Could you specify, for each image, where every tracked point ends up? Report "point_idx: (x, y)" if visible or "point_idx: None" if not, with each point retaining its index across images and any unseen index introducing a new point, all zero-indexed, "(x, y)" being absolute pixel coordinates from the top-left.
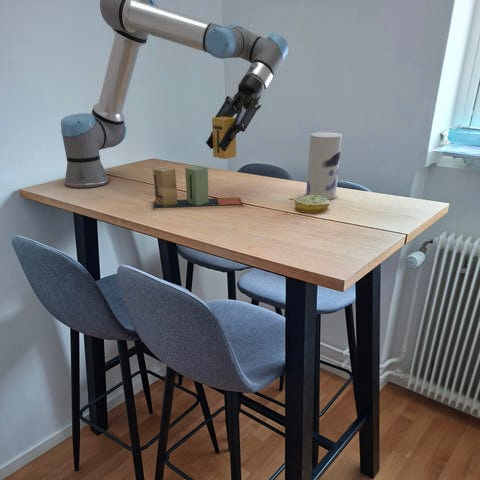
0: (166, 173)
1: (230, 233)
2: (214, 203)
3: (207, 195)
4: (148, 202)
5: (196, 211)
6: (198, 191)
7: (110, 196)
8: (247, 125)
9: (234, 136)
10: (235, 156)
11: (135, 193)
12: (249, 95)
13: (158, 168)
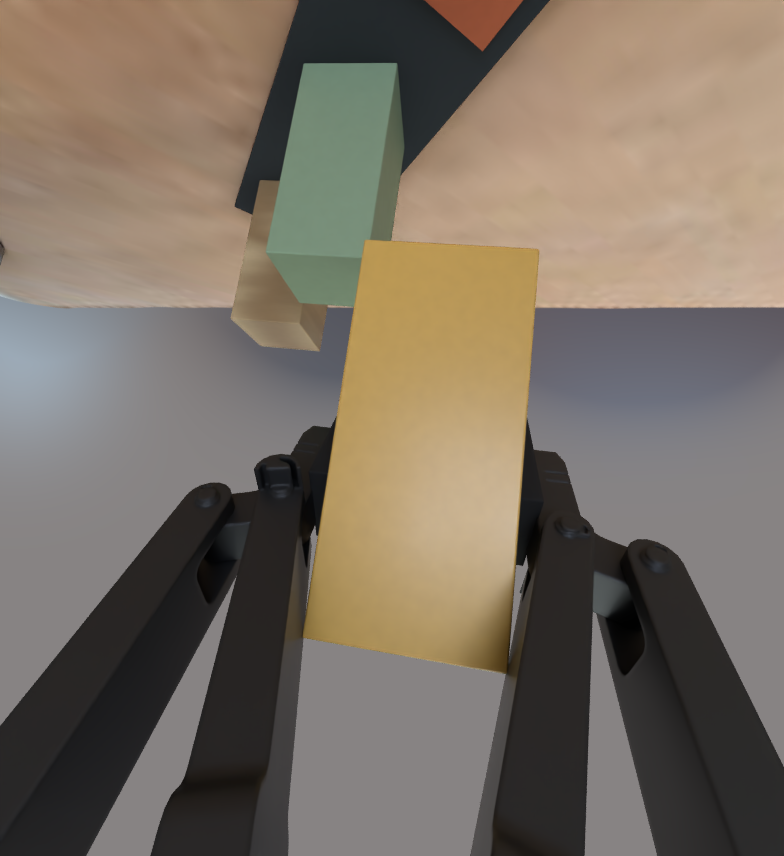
0: (316, 332)
1: (734, 248)
2: (433, 44)
3: (392, 112)
4: (233, 214)
5: (452, 175)
6: (395, 198)
7: (121, 243)
8: (711, 635)
9: (569, 488)
10: (536, 257)
11: (74, 181)
12: None
13: (267, 340)
